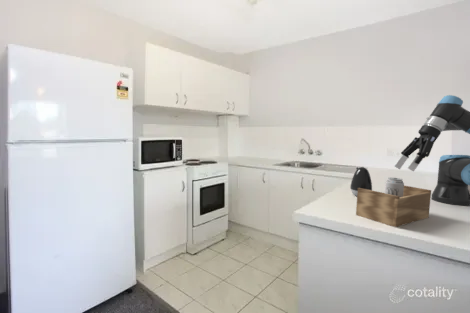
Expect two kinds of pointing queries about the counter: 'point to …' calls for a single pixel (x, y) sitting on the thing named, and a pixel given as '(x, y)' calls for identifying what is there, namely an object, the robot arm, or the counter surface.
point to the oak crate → (394, 206)
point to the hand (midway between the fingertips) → (403, 168)
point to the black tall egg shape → (361, 180)
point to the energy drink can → (394, 186)
